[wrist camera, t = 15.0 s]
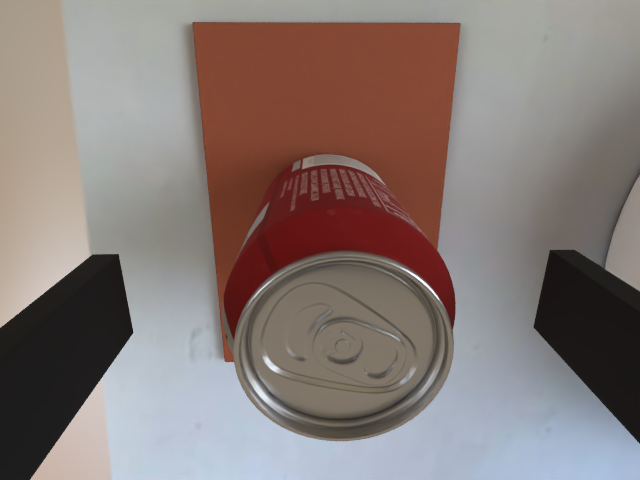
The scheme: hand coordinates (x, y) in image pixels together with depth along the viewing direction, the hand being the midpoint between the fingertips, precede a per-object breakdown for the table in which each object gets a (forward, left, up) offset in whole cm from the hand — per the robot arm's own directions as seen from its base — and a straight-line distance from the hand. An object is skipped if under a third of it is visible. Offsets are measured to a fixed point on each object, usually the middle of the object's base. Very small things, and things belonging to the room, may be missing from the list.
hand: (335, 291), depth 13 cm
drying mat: (0, 0, -10) cm, 10 cm away
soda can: (0, 0, -9) cm, 9 cm away
